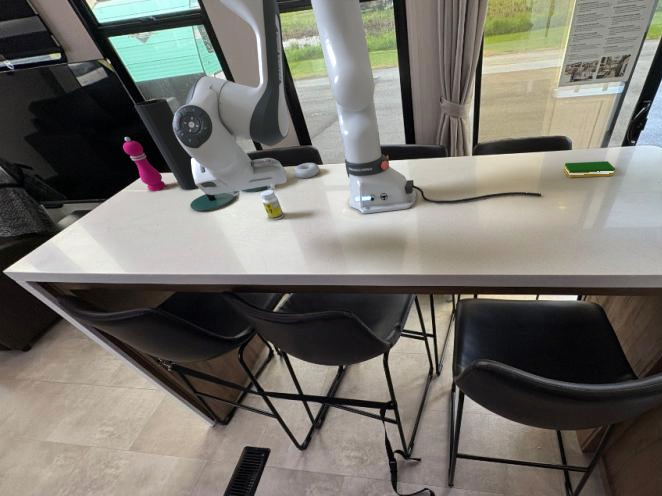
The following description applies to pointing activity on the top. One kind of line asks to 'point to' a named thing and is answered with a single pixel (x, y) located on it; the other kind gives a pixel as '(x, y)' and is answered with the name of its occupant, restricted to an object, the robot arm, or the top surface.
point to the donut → (306, 170)
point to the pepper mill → (143, 165)
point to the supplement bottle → (271, 205)
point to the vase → (167, 139)
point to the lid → (211, 201)
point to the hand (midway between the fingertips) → (254, 190)
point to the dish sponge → (588, 168)
